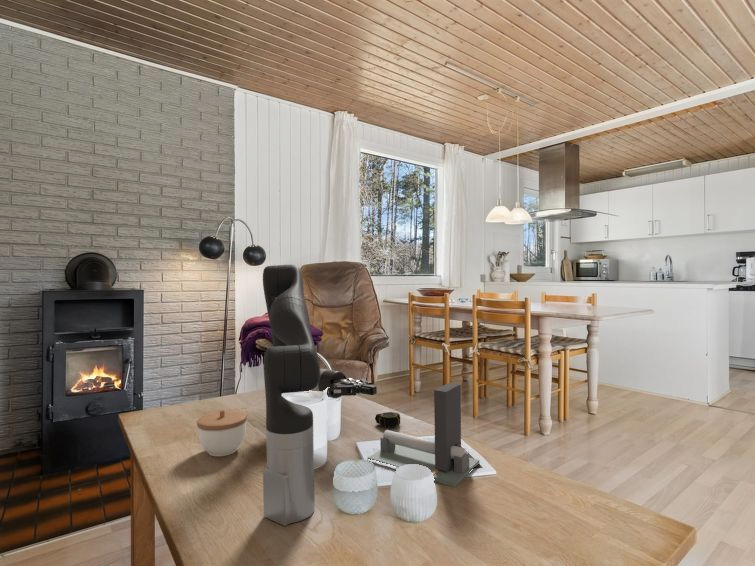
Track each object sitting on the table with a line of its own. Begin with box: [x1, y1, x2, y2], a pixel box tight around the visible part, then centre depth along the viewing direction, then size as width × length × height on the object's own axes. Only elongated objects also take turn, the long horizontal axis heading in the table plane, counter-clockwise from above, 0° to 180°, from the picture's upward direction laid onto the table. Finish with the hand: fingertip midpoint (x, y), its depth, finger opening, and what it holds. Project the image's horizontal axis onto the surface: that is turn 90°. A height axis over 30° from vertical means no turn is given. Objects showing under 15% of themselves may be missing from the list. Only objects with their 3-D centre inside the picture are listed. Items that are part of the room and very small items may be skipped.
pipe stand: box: [367, 429, 480, 488], centre depth 109 cm, size 14×24×6 cm, turn 55°
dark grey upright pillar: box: [433, 382, 462, 472], centre depth 105 cm, size 8×3×19 cm, turn 145°
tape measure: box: [374, 411, 401, 428], centre depth 136 cm, size 7×7×4 cm
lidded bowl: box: [196, 409, 248, 458], centre depth 118 cm, size 13×13×11 cm
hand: (375, 390), depth 115 cm, fingers closed
